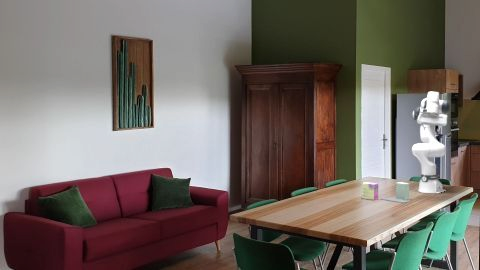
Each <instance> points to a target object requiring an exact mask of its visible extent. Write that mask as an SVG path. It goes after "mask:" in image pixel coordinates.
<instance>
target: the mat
mask: <svg viewBox="0 0 480 270" xmlns="http://www.w3.org/2000/svg"><path fill="white" fill-rule="evenodd" d="M380 200H381V201H388V202H393V203H401V204H405V203H406V204H407V203H411V202H412V201H411V200H402V199H396V197H390V196H389V197H382V198H380Z"/></svg>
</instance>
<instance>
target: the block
mask: <svg viewBox="0 0 480 270" xmlns="http://www.w3.org/2000/svg"><path fill="white" fill-rule="evenodd" d="M395 199H402V200H408V201H410V183H409V182H401V181H399V182H395Z"/></svg>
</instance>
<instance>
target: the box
mask: <svg viewBox="0 0 480 270" xmlns="http://www.w3.org/2000/svg"><path fill="white" fill-rule="evenodd" d="M361 192H362V193H361V195H362V196H361V197H362V198H361V199H364V200H365V199H366V200H371V201H377V200H379V183H375V182H368V181H367V182H362V187H361Z"/></svg>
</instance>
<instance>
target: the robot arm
mask: <svg viewBox="0 0 480 270" xmlns="http://www.w3.org/2000/svg"><path fill="white" fill-rule="evenodd" d="M450 109H451V103H450V101H449V100H448V99H444V100H443V99H440V92H438V91H434V90H433V91H428V92H427V96H426V98H423V99H422V100H421V103H420V106H419V105H418V106H417V107H415V108H414V109H413V111H412V117H413V120H414V121H416V123H417V124H418V125H420V126H419V135H420V141H421V142H422V143H421V142H419V143H415V144H413V145H412V147H411V153H412V155H413V156H414V157H416V158H417V159H418V161H419V164H420V169H421V172H420V180H419V185H418V188H417V191H418V192H419V193H423V194H442V193H445V192H446V191H447V190H446V189H443V187H444V186H443V184H442V182H441V181H440V180H438V178H439V177H440V174H437V164H436V163H435V162H433V161H431V160H429V158H441V157H444V156H445V155H446V154H447V146H446V145H445V144H443V143H441V142H440V141H438V139H437V138H436V133H435V128H434V126H438V128H436V131H437V132H440V129H441V128H442V127H445V126H447V124H448V115H447V113H449V111H450ZM444 191H445V192H444ZM441 192H442V193H441Z"/></svg>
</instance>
